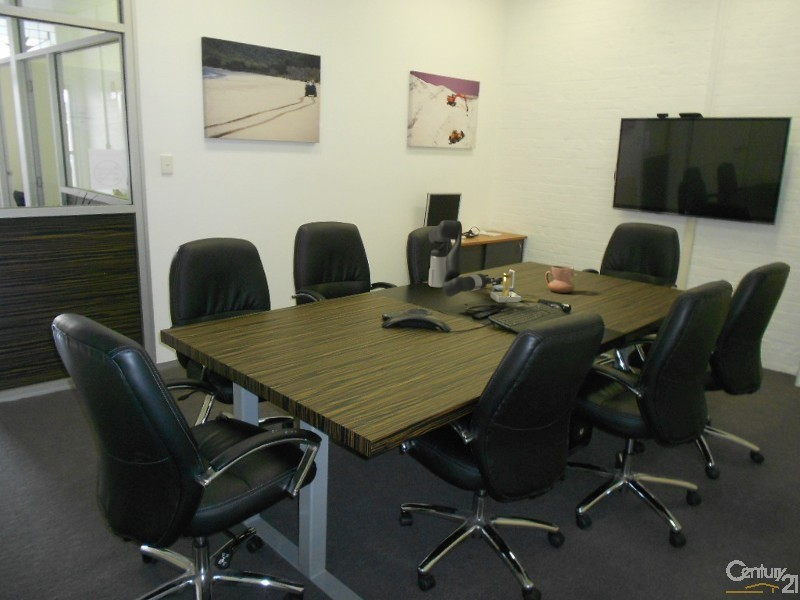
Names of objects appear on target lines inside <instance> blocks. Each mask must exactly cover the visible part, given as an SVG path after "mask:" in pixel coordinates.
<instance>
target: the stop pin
mask: <svg viewBox="0 0 800 600" xmlns="http://www.w3.org/2000/svg"><path fill="white" fill-rule="evenodd" d="M502 276H503V277H502V278H503V281H502V285H503V290H502V297H509V292H510V286H511V281H512V279H511V277H513V272H511V273H509V272H502Z"/></svg>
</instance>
